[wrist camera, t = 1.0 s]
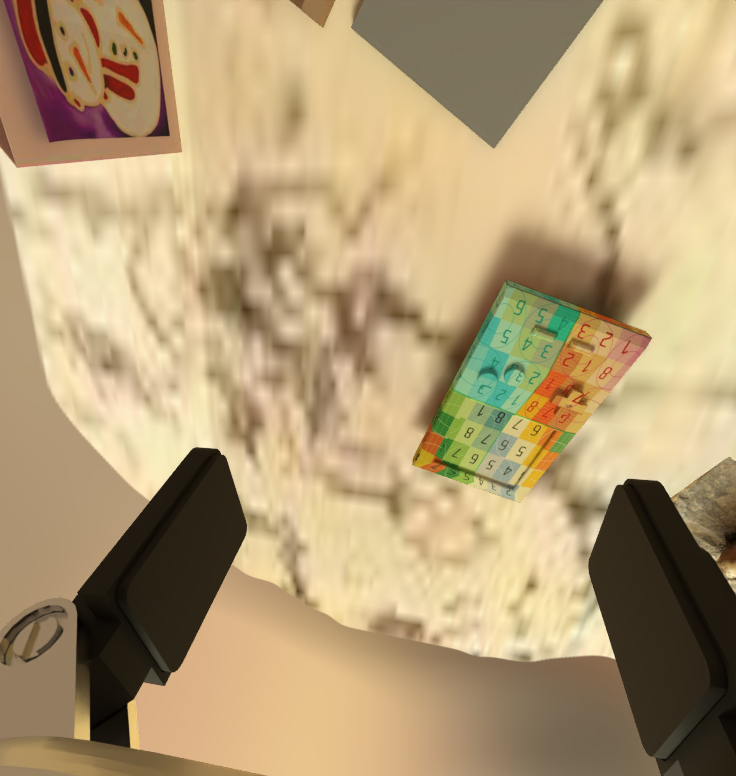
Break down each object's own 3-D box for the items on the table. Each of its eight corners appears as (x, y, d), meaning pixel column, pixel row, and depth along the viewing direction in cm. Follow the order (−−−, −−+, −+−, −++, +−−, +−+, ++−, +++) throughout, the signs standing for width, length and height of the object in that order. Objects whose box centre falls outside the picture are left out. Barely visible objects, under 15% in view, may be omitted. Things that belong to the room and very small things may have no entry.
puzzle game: (657, 343, 30) (521, 510, 41) (633, 318, 34) (514, 477, 45) (509, 288, 30) (411, 471, 41) (502, 270, 34) (415, 441, 45)
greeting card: (192, 153, 33) (33, 170, 20) (105, 141, 33) (-100, 150, 21) (168, -49, 27) (-82, -205, 14) (63, -59, 27) (-267, -217, 15)
